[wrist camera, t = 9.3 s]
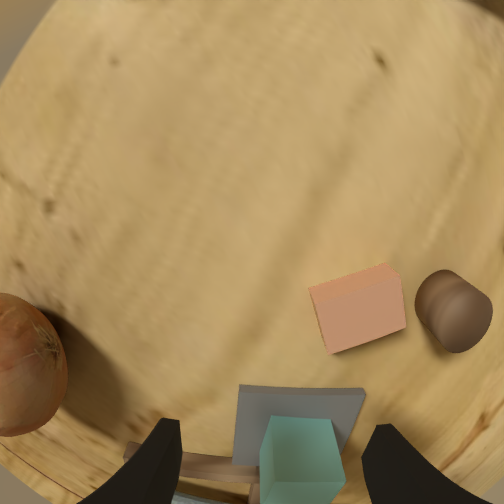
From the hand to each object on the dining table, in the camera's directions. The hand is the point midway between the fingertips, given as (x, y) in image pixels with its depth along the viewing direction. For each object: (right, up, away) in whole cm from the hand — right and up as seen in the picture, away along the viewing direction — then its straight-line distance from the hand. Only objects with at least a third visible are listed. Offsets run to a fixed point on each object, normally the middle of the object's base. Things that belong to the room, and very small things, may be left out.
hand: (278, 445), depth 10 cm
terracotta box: (+5, +4, +9) cm, 12 cm away
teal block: (+2, -7, +11) cm, 14 cm away
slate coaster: (+2, -7, +12) cm, 14 cm away
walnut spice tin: (+12, +4, +9) cm, 15 cm away
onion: (-18, +1, +10) cm, 21 cm away
